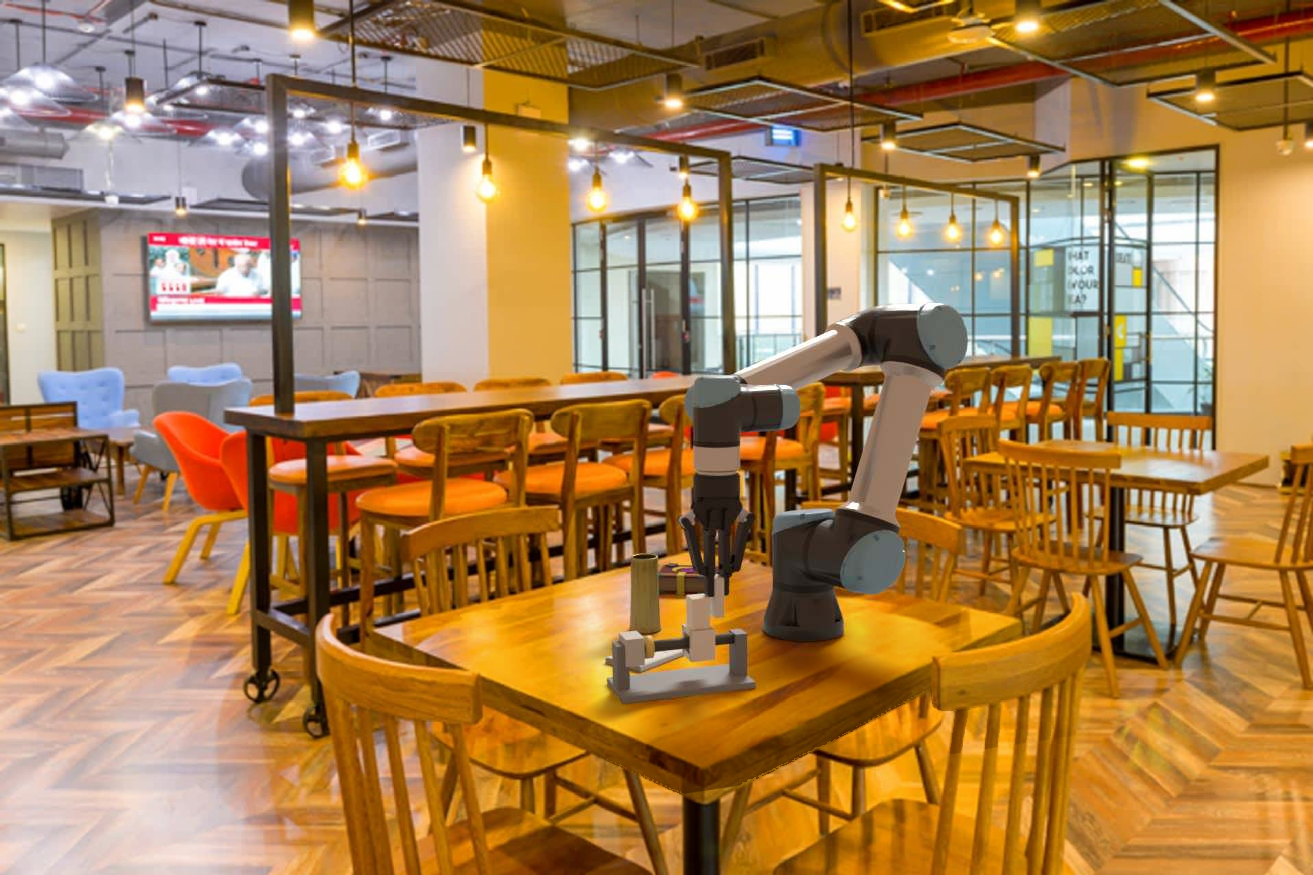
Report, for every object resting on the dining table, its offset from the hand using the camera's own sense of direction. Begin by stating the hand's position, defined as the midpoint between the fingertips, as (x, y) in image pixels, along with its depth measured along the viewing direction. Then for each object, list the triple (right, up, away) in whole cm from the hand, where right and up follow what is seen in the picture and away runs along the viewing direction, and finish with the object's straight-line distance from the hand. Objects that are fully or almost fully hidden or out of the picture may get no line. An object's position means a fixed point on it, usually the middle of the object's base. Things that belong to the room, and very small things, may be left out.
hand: (716, 615), depth 179 cm
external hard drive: (-12, -11, +14) cm, 21 cm away
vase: (-12, -8, +32) cm, 35 cm away
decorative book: (-3, -5, +63) cm, 64 cm away
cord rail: (-6, -11, -1) cm, 13 cm away
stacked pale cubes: (-3, -7, 0) cm, 7 cm away
